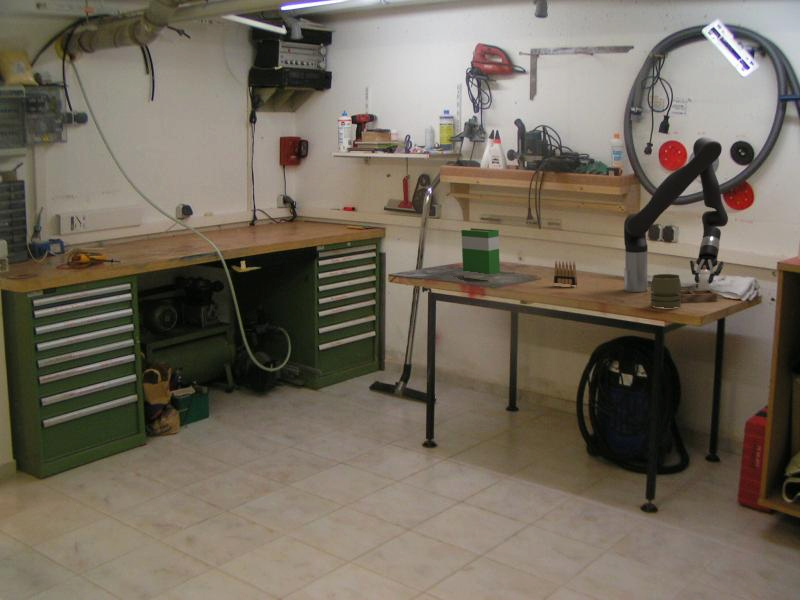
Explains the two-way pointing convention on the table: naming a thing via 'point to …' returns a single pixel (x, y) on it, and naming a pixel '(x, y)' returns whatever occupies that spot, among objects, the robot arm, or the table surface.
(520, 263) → the table surface
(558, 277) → the ammunition clip
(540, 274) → the table surface
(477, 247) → the green box
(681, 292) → the wooden compartment tray
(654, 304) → the olive green pot
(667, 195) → the robot arm
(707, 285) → the glue bottle
